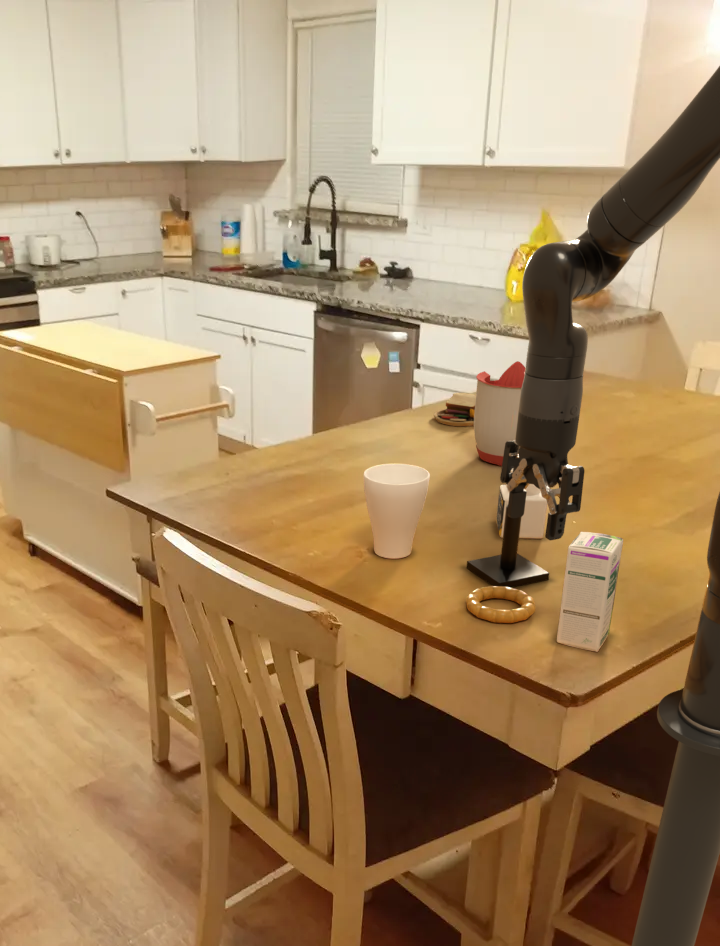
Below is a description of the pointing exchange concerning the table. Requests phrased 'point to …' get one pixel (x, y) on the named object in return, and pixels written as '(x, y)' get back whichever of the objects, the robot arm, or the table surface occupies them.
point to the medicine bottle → (532, 514)
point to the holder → (508, 561)
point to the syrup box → (589, 590)
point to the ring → (500, 615)
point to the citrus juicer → (497, 412)
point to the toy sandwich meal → (458, 410)
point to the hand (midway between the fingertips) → (534, 527)
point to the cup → (395, 506)
